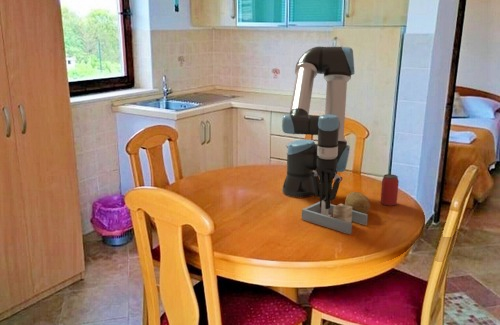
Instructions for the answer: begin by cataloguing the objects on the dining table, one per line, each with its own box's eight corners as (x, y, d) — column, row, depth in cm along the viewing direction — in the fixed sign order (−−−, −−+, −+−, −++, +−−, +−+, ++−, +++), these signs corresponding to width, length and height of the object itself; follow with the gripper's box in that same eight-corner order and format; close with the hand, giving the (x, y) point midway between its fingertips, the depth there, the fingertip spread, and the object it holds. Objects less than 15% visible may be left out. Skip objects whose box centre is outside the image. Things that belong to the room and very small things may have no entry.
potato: (363, 206, 203) (364, 188, 201) (374, 219, 190) (375, 200, 188) (339, 207, 203) (340, 188, 200) (349, 220, 189) (350, 200, 187)
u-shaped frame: (301, 219, 190) (301, 209, 189) (320, 210, 199) (320, 201, 198) (349, 234, 176) (350, 224, 175) (367, 224, 185) (367, 214, 184)
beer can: (397, 206, 203) (399, 179, 200) (380, 205, 204) (382, 178, 201) (396, 201, 209) (398, 174, 206) (379, 200, 211) (382, 173, 207)
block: (332, 224, 185) (333, 207, 183) (339, 220, 189) (340, 203, 187) (344, 228, 182) (345, 210, 180) (351, 224, 186) (352, 206, 184)
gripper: (306, 155, 185) (305, 214, 192) (336, 161, 177) (333, 223, 183) (318, 151, 191) (316, 209, 197) (347, 157, 182) (344, 217, 189)
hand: (324, 215), depth 190 cm, fingers closed
